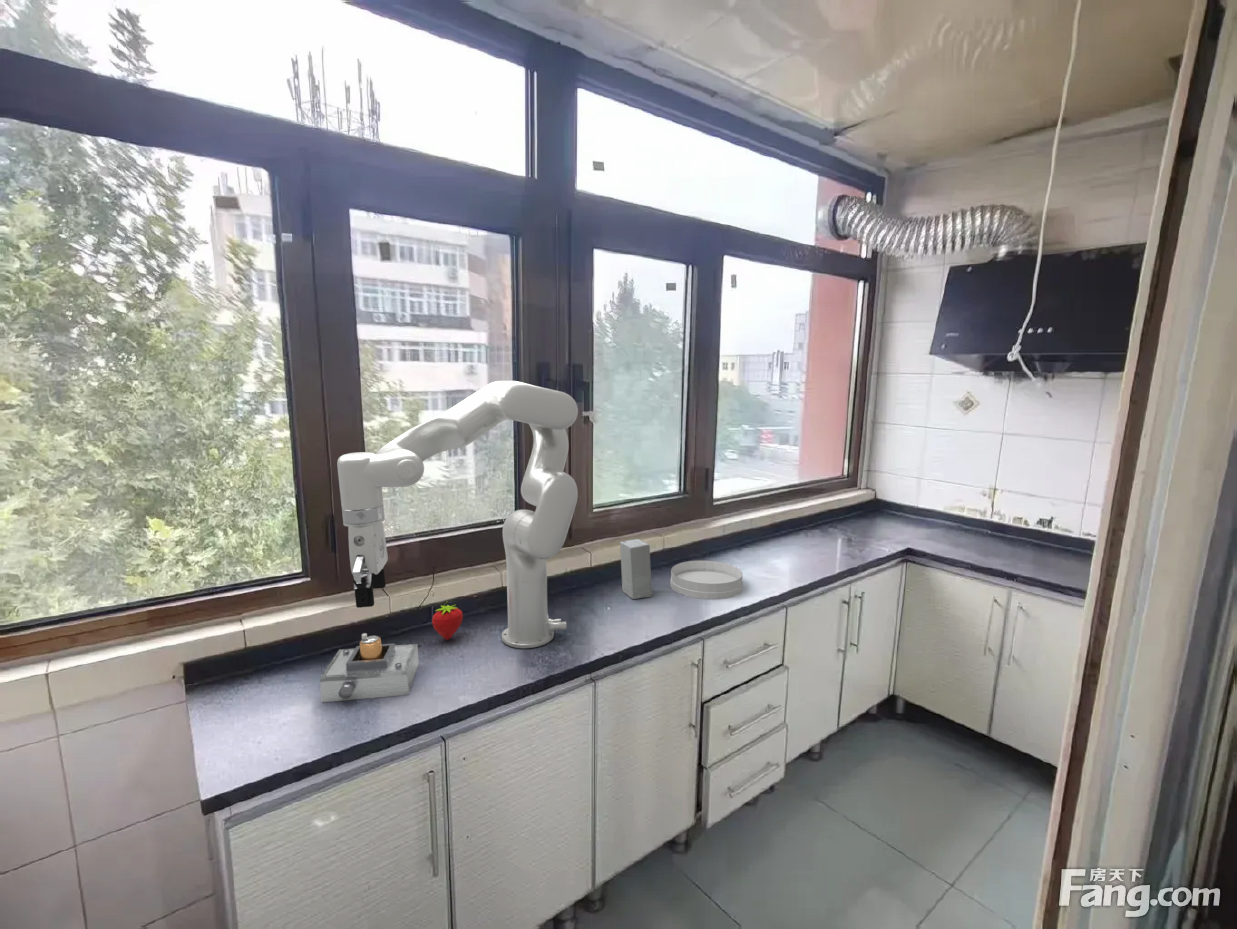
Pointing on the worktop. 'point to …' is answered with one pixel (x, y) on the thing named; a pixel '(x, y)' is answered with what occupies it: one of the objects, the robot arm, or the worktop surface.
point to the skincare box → (636, 568)
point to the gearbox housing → (370, 674)
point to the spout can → (370, 647)
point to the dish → (706, 579)
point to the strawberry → (447, 620)
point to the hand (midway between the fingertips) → (371, 596)
